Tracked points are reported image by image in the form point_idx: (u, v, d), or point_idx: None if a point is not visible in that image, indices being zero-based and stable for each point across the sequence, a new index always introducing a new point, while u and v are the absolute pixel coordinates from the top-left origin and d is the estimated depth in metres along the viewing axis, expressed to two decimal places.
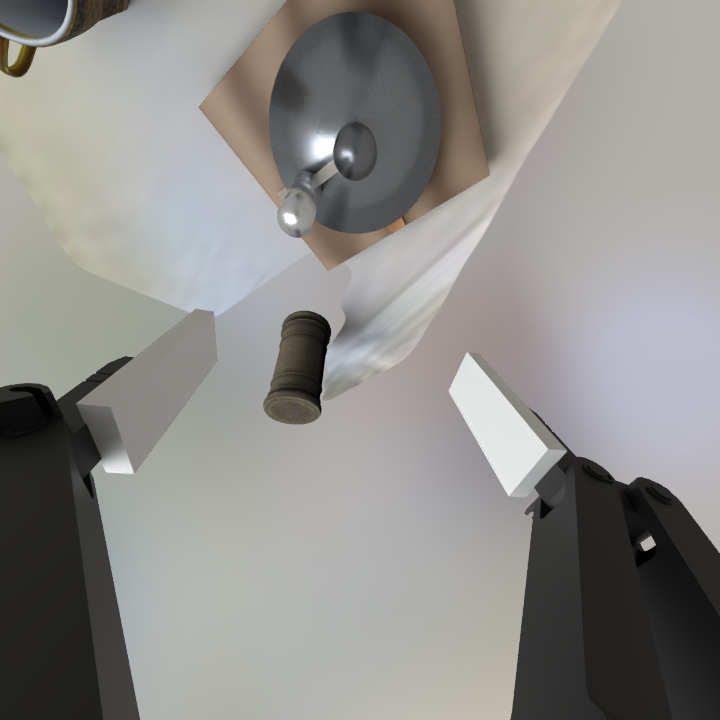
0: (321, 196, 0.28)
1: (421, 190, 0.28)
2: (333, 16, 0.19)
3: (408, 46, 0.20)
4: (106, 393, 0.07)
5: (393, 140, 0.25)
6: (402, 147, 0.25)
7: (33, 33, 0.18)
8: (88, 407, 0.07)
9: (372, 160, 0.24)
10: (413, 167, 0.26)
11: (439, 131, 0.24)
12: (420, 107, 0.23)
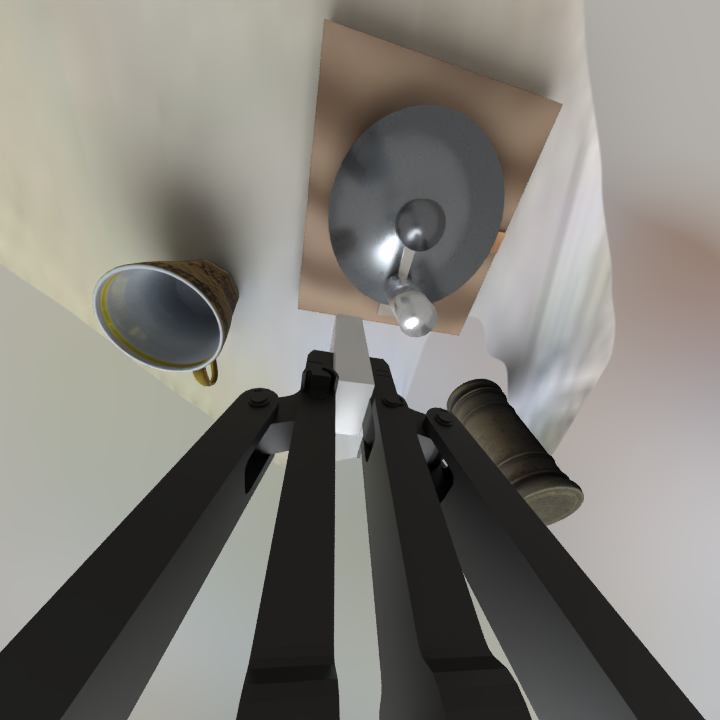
0: (413, 283, 0.27)
1: (501, 189, 0.23)
2: (341, 165, 0.21)
3: (405, 114, 0.20)
4: (344, 374, 0.10)
5: (443, 183, 0.23)
6: (455, 180, 0.23)
7: (211, 352, 0.26)
8: (340, 383, 0.10)
9: (440, 214, 0.22)
10: (478, 181, 0.23)
11: (480, 131, 0.21)
12: (448, 136, 0.21)
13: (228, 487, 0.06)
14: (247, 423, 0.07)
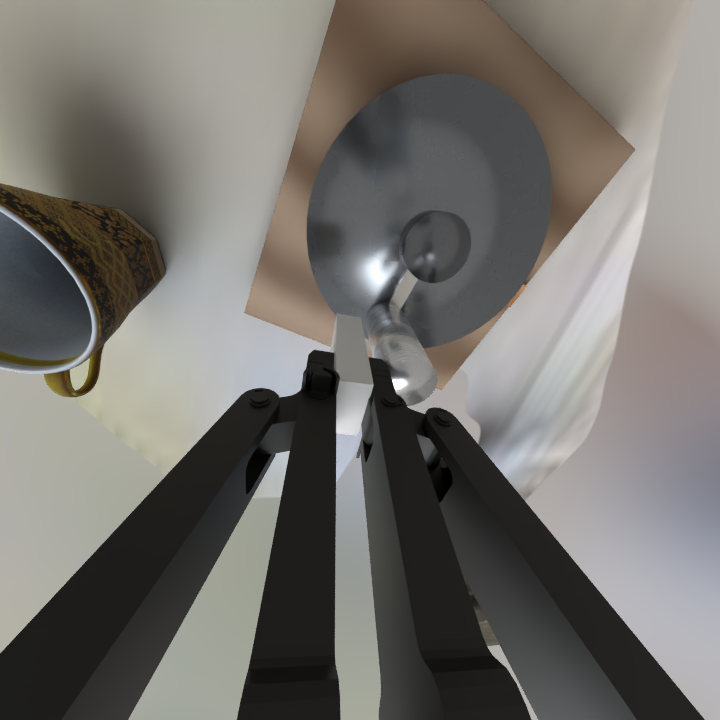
0: (406, 319, 0.20)
1: (543, 230, 0.18)
2: (344, 129, 0.14)
3: (451, 84, 0.14)
4: (345, 374, 0.10)
5: (476, 200, 0.16)
6: (492, 200, 0.16)
7: (84, 350, 0.17)
8: (341, 383, 0.10)
9: (465, 240, 0.16)
10: (519, 211, 0.17)
11: (541, 144, 0.15)
12: (499, 137, 0.15)
13: (229, 487, 0.06)
14: (248, 423, 0.07)
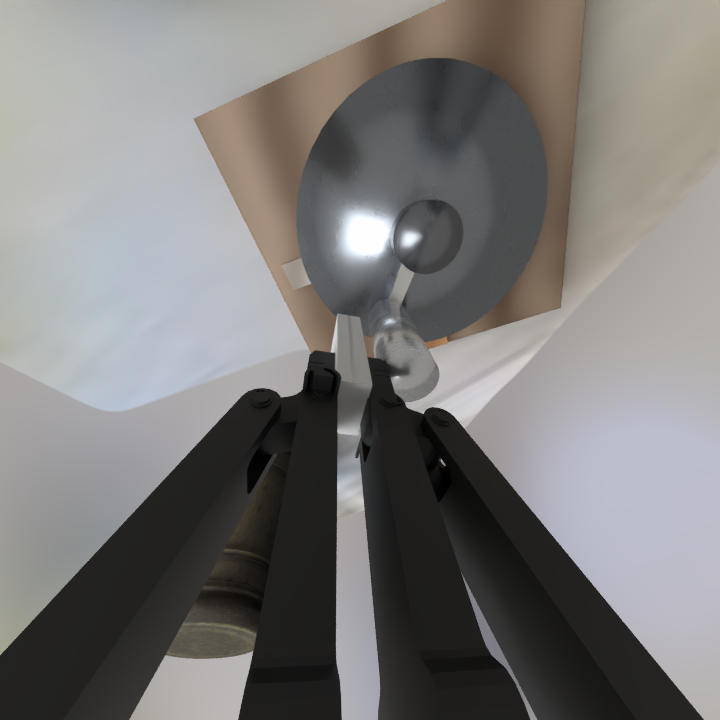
0: (408, 314, 0.20)
1: (542, 202, 0.17)
2: (320, 134, 0.14)
3: (422, 69, 0.13)
4: (346, 374, 0.10)
5: (464, 182, 0.16)
6: (481, 180, 0.16)
7: None
8: (342, 383, 0.10)
9: (456, 225, 0.15)
10: (513, 187, 0.16)
11: (527, 113, 0.14)
12: (480, 114, 0.14)
13: (230, 487, 0.06)
14: (249, 423, 0.07)
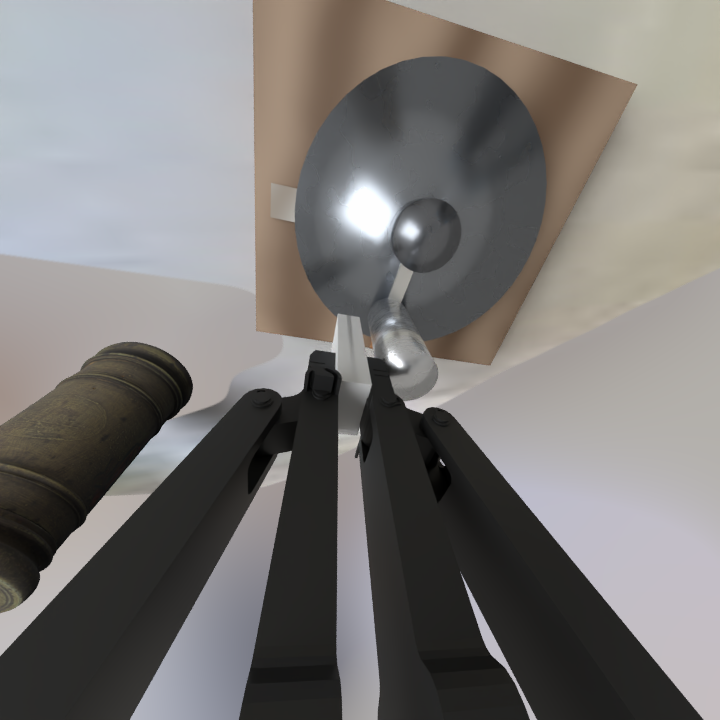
0: (408, 313, 0.20)
1: (541, 198, 0.17)
2: (317, 135, 0.14)
3: (417, 68, 0.13)
4: (347, 374, 0.10)
5: (462, 180, 0.16)
6: (479, 177, 0.16)
7: None
8: (342, 383, 0.10)
9: (454, 223, 0.15)
10: (511, 184, 0.16)
11: (524, 109, 0.14)
12: (476, 112, 0.14)
13: (231, 487, 0.06)
14: (250, 423, 0.07)
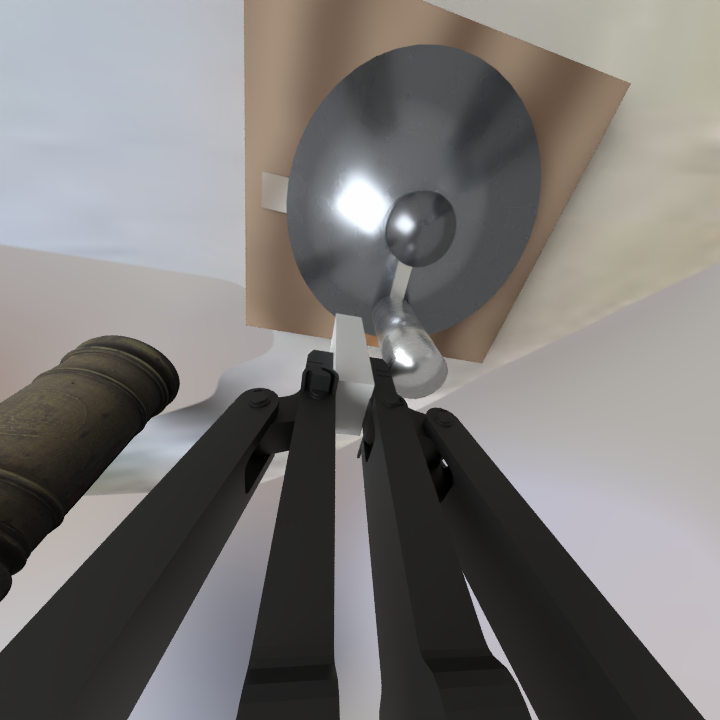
0: (412, 308, 0.20)
1: (536, 174, 0.16)
2: (299, 144, 0.14)
3: (391, 61, 0.13)
4: (344, 374, 0.10)
5: (451, 167, 0.15)
6: (469, 162, 0.15)
7: None
8: (340, 383, 0.10)
9: (447, 213, 0.15)
10: (502, 164, 0.16)
11: (507, 85, 0.14)
12: (457, 95, 0.14)
13: (228, 487, 0.06)
14: (247, 423, 0.07)
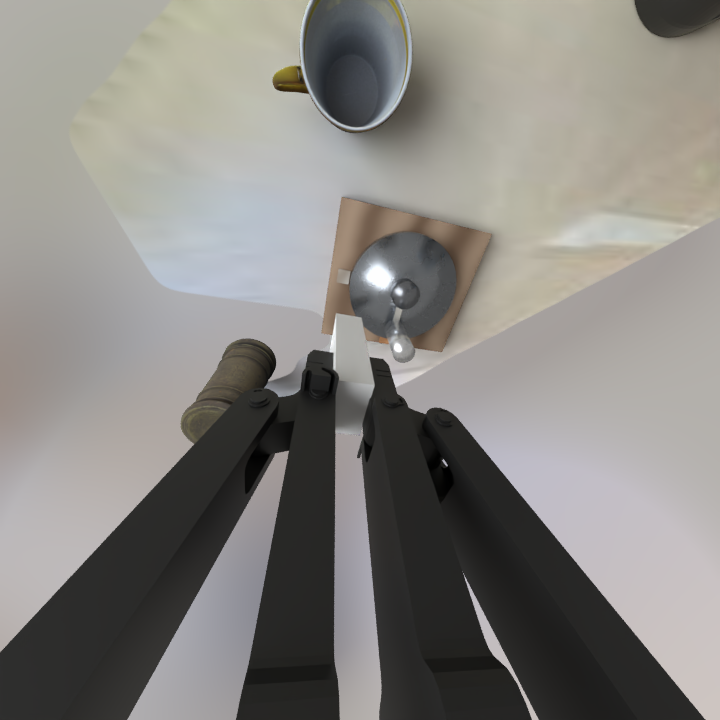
0: (403, 325, 0.42)
1: (453, 271, 0.38)
2: (357, 264, 0.37)
3: (393, 238, 0.36)
4: (344, 374, 0.10)
5: (418, 269, 0.38)
6: (425, 267, 0.38)
7: None
8: (340, 383, 0.10)
9: (416, 289, 0.37)
10: (439, 268, 0.38)
11: (437, 243, 0.36)
12: (418, 246, 0.36)
13: (228, 487, 0.06)
14: (247, 423, 0.07)
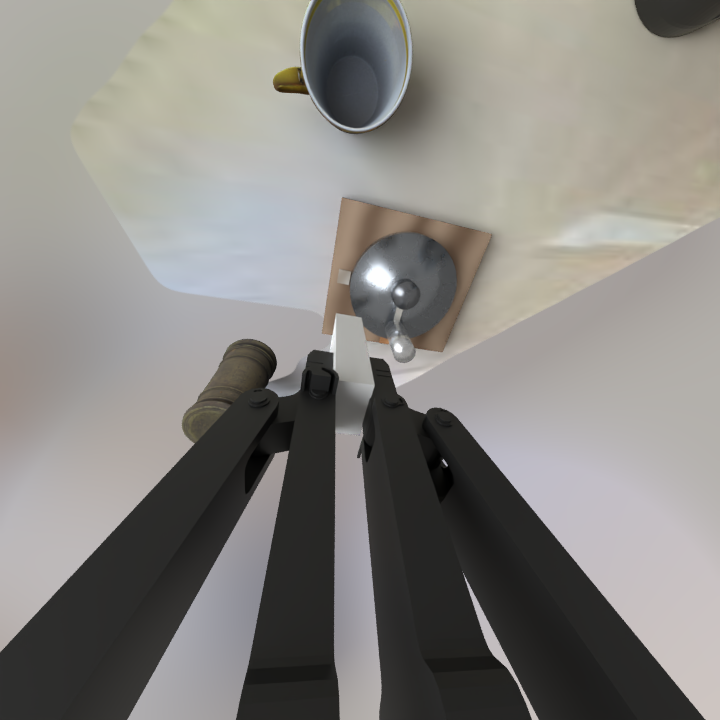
0: (404, 325, 0.42)
1: (454, 271, 0.38)
2: (358, 264, 0.37)
3: (394, 238, 0.36)
4: (344, 374, 0.10)
5: (418, 270, 0.38)
6: (425, 268, 0.38)
7: None
8: (340, 383, 0.10)
9: (416, 289, 0.37)
10: (439, 268, 0.38)
11: (437, 243, 0.36)
12: (419, 247, 0.36)
13: (228, 487, 0.06)
14: (247, 423, 0.07)
